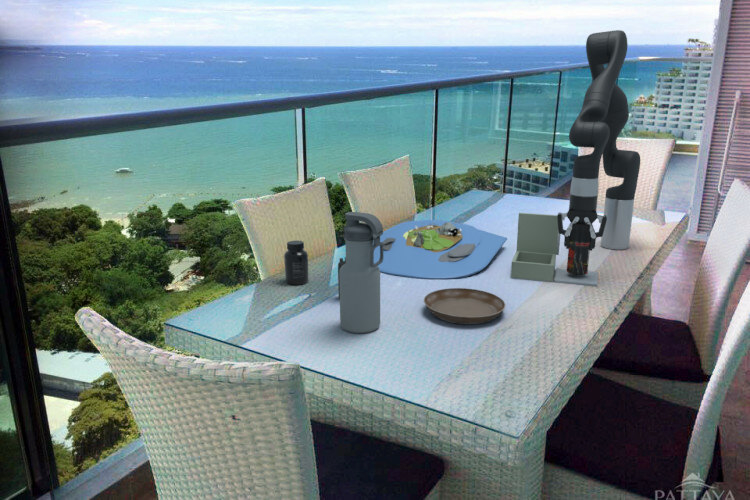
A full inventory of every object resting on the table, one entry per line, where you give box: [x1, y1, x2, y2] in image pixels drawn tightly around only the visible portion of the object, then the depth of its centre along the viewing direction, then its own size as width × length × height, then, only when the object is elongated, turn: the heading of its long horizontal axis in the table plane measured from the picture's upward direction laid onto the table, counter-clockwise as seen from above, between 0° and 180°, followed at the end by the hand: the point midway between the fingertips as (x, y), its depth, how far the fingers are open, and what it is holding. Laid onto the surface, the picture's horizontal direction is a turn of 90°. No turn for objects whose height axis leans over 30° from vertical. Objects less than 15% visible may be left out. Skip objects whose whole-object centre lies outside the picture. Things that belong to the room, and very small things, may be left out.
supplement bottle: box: [283, 240, 310, 286], centre depth 185 cm, size 7×7×12 cm
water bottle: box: [338, 211, 384, 334], centre depth 151 cm, size 10×10×28 cm
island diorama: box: [373, 219, 508, 280], centre depth 208 cm, size 45×43×12 cm
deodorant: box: [566, 223, 593, 275], centre depth 186 cm, size 6×6×15 cm
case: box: [510, 212, 561, 283], centre depth 191 cm, size 13×13×17 cm
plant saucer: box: [423, 287, 506, 325], centre depth 163 cm, size 21×21×3 cm
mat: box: [553, 267, 599, 287], centre depth 189 cm, size 12×12×1 cm
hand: (579, 248), depth 186 cm, fingers closed on deodorant, 6 cm apart
